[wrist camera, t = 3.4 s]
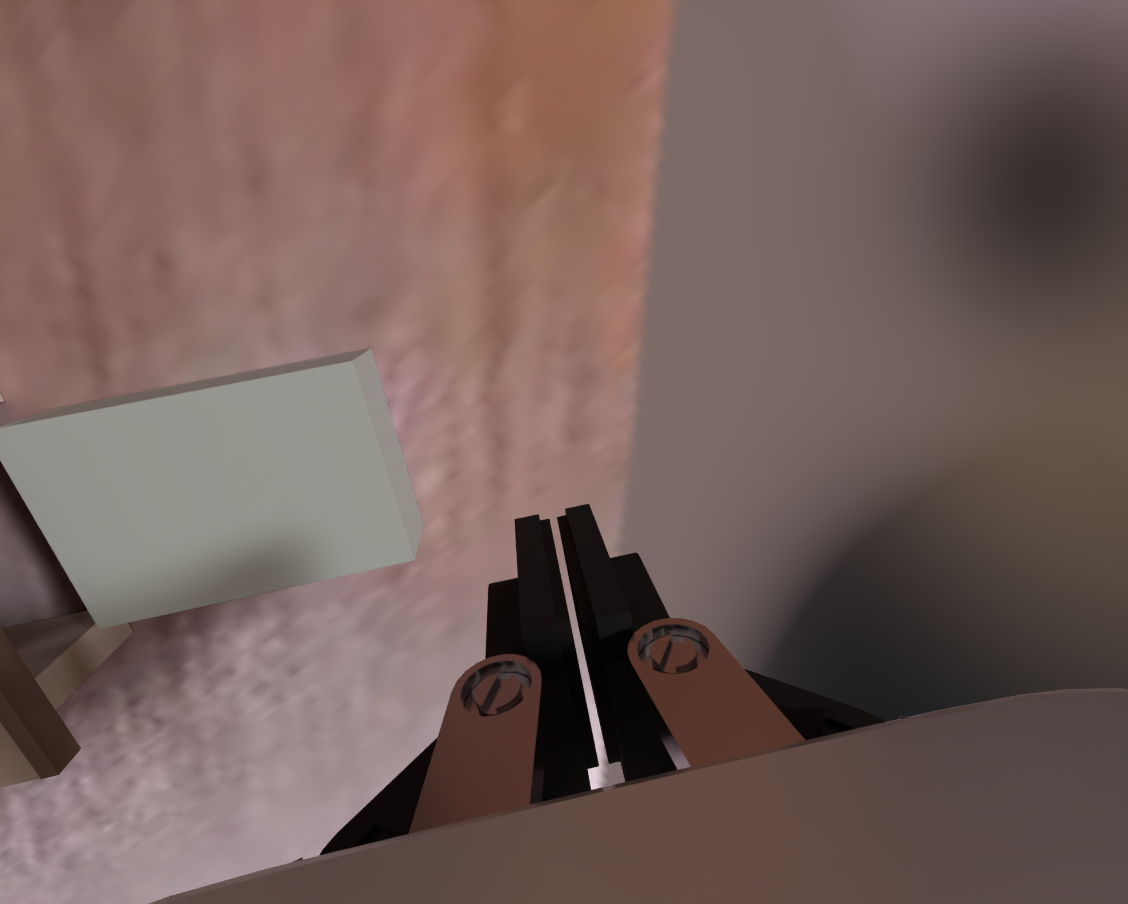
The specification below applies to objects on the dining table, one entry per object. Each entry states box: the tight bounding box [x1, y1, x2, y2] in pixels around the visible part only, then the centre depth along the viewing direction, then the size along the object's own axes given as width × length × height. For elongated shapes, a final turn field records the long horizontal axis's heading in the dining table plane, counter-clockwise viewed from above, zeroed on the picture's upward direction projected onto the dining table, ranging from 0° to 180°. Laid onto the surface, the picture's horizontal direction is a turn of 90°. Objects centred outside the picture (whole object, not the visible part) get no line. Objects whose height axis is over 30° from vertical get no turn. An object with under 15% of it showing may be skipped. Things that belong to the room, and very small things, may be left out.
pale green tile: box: [0, 349, 424, 629], centre depth 20 cm, size 8×12×3 cm, turn 100°
